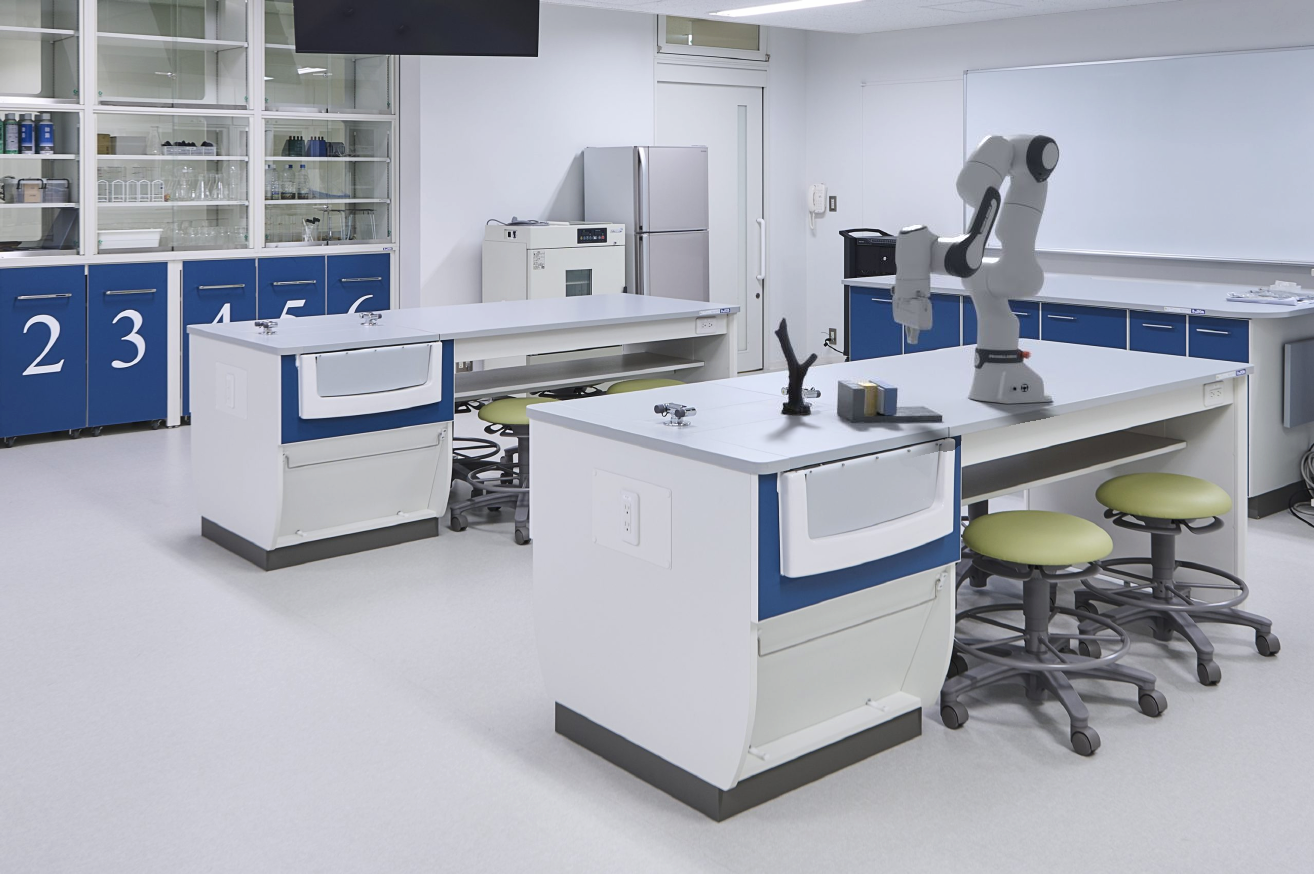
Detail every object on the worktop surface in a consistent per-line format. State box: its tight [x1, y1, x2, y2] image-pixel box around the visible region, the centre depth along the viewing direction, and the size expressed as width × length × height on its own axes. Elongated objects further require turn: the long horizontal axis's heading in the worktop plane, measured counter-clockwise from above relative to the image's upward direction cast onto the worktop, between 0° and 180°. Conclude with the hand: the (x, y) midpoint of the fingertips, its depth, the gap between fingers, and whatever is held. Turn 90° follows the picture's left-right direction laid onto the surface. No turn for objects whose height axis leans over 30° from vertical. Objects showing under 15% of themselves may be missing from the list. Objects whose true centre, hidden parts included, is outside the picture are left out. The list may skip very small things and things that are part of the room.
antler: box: [774, 317, 819, 416], centre depth 306 cm, size 12×8×25 cm
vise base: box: [836, 379, 943, 424], centre depth 303 cm, size 23×14×8 cm, turn 97°
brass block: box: [856, 382, 878, 413], centre depth 302 cm, size 4×5×7 cm
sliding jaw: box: [868, 379, 899, 415], centre depth 303 cm, size 4×14×7 cm, turn 7°
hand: (912, 343), depth 311 cm, fingers closed
